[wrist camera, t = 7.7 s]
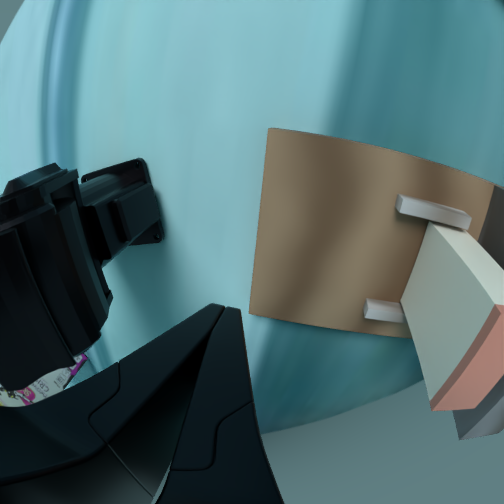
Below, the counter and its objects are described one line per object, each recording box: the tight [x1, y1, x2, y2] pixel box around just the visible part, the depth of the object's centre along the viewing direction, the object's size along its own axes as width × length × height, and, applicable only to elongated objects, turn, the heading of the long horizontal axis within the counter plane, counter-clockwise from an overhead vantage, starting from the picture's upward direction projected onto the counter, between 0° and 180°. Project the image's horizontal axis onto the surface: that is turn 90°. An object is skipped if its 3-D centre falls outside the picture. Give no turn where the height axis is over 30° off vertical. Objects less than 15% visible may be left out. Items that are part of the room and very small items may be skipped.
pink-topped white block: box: [400, 221, 504, 411], centre depth 13 cm, size 3×6×9 cm, turn 175°
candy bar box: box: [0, 354, 88, 407], centre depth 25 cm, size 11×5×16 cm, turn 35°
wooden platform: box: [249, 128, 504, 440], centre depth 14 cm, size 19×13×11 cm
